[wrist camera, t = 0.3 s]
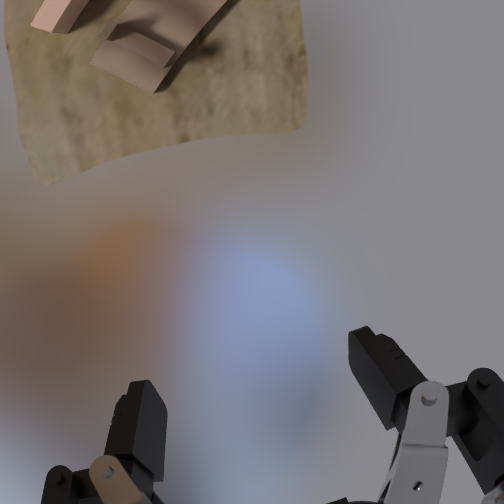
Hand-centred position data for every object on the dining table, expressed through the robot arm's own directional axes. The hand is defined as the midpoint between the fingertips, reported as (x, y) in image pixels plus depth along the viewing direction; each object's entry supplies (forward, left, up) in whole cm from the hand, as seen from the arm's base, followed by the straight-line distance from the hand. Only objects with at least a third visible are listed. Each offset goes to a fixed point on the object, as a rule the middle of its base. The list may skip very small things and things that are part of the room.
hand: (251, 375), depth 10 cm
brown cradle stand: (-13, +12, -30) cm, 35 cm away
